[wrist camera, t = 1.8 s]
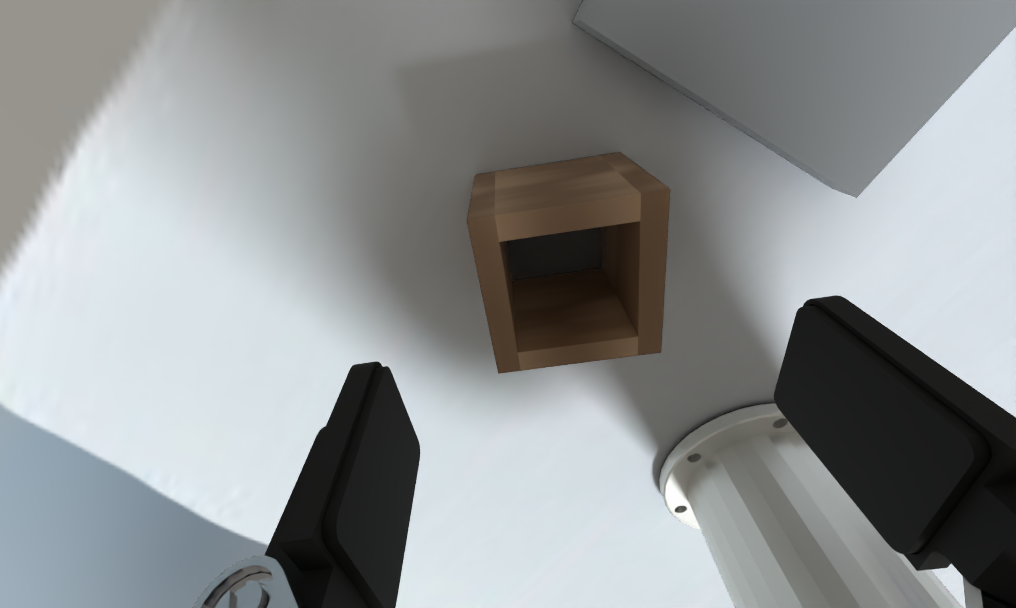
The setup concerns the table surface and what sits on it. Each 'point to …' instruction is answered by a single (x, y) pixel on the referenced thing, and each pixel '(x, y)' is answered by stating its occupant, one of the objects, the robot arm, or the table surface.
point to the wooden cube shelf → (577, 295)
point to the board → (810, 68)
